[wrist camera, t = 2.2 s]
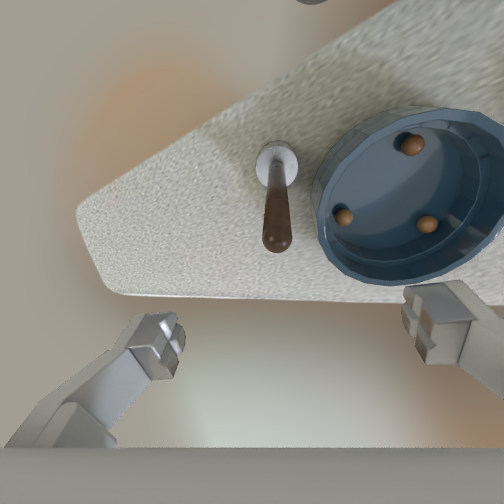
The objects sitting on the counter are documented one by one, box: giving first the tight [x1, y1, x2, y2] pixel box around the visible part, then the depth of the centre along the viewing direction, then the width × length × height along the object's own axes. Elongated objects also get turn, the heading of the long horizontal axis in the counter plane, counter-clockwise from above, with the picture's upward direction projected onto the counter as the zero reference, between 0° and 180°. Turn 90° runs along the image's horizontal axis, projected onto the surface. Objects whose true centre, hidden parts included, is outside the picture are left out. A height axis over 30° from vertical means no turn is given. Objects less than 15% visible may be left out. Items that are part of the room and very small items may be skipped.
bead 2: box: [401, 134, 425, 156], centre depth 25 cm, size 2×2×2 cm
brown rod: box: [255, 141, 299, 253], centre depth 21 cm, size 4×4×18 cm
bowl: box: [310, 105, 504, 286], centre depth 27 cm, size 18×18×6 cm
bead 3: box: [417, 216, 438, 233], centre depth 29 cm, size 2×2×2 cm
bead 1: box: [335, 209, 353, 226], centre depth 29 cm, size 2×2×2 cm
